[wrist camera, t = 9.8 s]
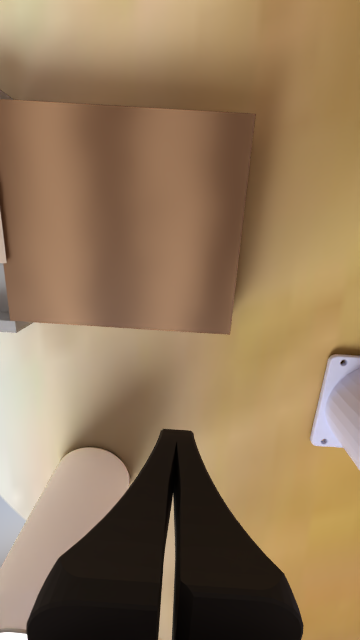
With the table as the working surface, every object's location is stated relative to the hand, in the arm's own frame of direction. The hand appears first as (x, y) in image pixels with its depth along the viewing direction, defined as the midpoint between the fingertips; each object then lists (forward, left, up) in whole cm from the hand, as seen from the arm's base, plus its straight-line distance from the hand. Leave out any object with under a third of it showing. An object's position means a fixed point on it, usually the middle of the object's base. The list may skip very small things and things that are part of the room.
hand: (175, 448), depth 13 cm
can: (+7, +12, -10) cm, 17 cm away
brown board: (+4, -9, -10) cm, 14 cm away
